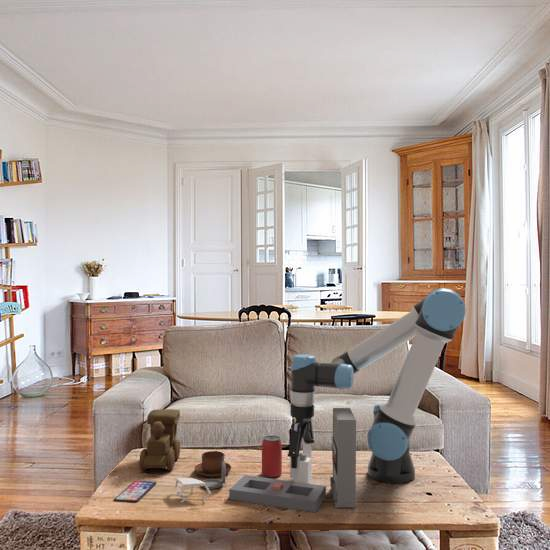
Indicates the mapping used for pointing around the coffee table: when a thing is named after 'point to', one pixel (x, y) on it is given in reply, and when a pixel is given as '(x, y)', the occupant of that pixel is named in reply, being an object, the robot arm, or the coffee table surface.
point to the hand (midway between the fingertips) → (300, 470)
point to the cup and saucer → (211, 464)
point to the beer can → (271, 456)
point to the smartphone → (135, 491)
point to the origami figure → (189, 482)
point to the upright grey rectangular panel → (344, 458)
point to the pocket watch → (216, 482)
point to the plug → (304, 469)
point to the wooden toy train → (161, 440)
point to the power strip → (278, 493)
